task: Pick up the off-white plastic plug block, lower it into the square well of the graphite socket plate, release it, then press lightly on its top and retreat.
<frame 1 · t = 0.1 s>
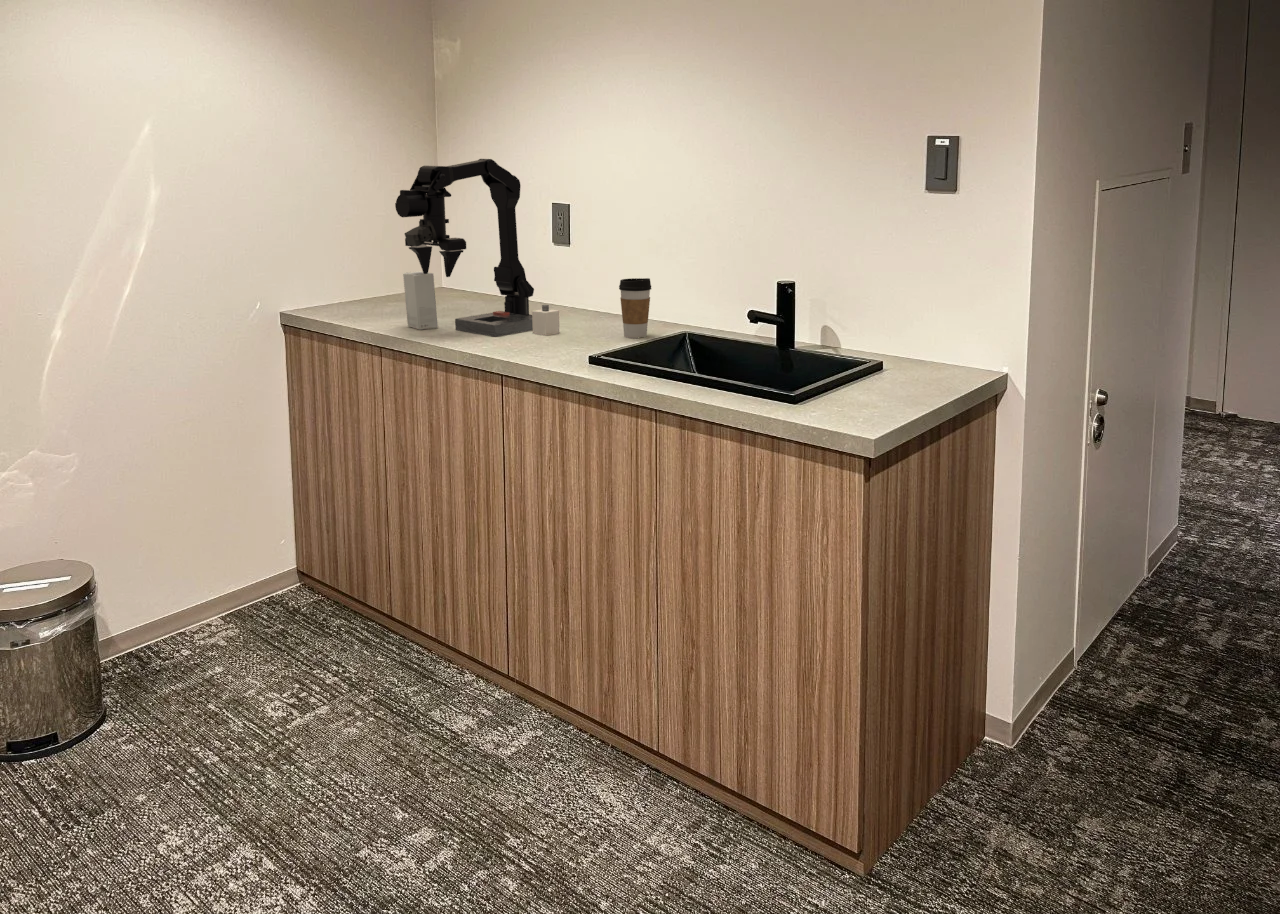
hand: (436, 275, 307), 15 cm above the worktop, fingers open, 9 cm apart
skincare box: (421, 327, 317), on the worktop, touching gripper
coffee cup: (635, 336, 303), on the worktop
socket plate: (497, 329, 313), on the worktop
plug: (546, 333, 308), on the worktop
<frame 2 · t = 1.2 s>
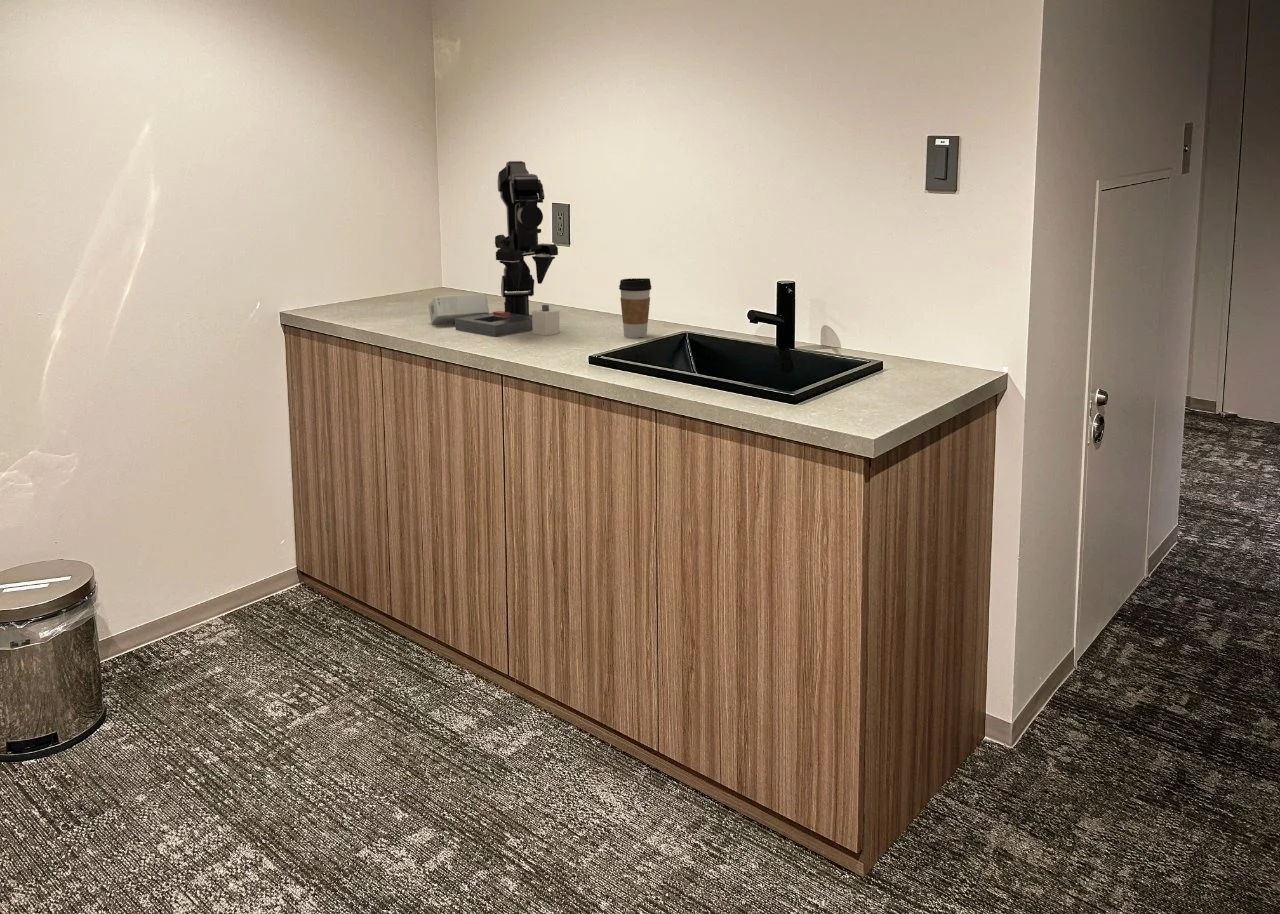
hand: (528, 285, 305), 13 cm above the worktop, fingers open, 9 cm apart
skincare box: (431, 309, 318), point 4 cm above the worktop
everything else where it was.
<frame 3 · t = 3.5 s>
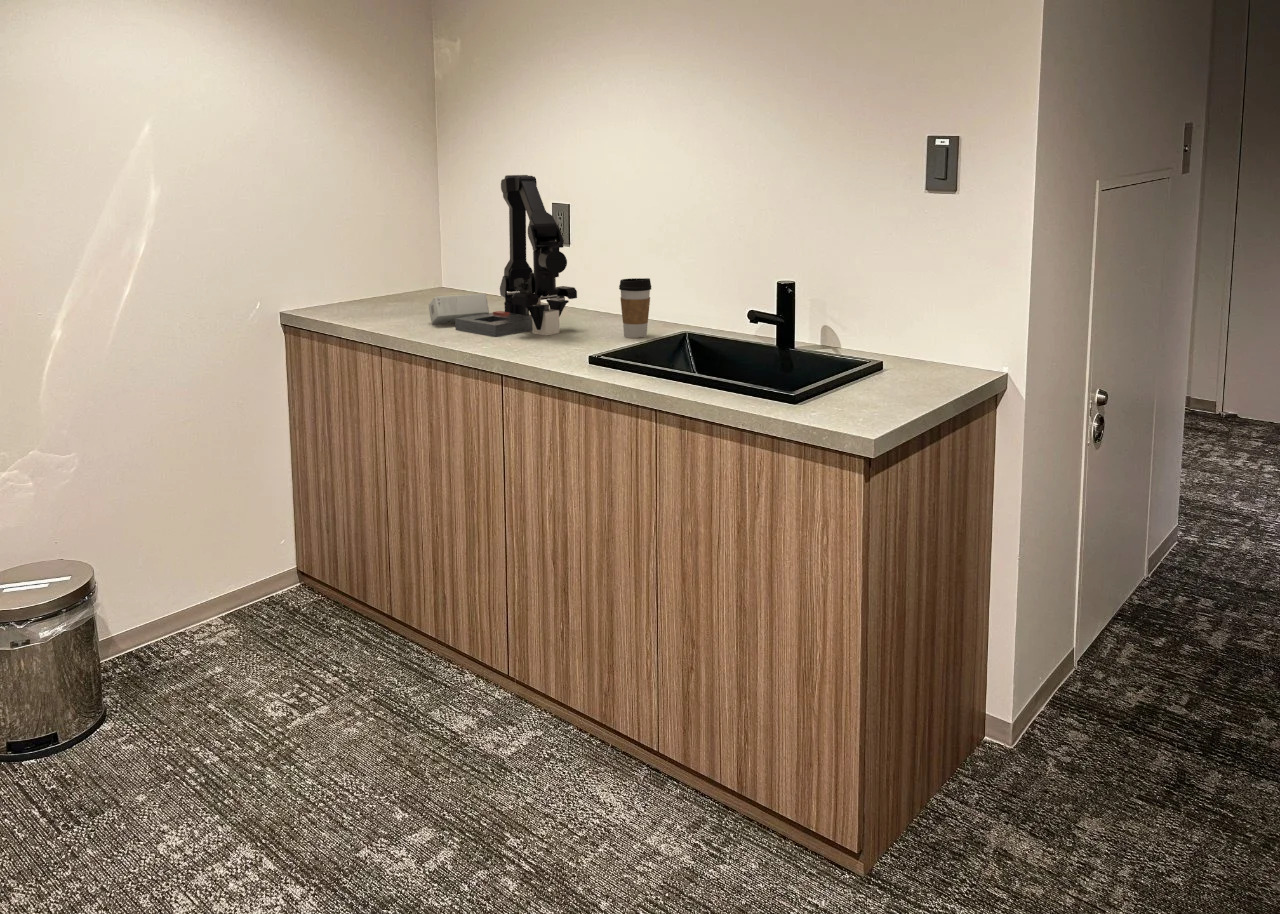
hand: (545, 328, 307), 1 cm above the worktop, fingers closed on plug, 5 cm apart
skincare box: (431, 310, 318), point 4 cm above the worktop, touching socket plate
plug: (546, 333, 308), on the worktop, touching gripper
everything else where it was.
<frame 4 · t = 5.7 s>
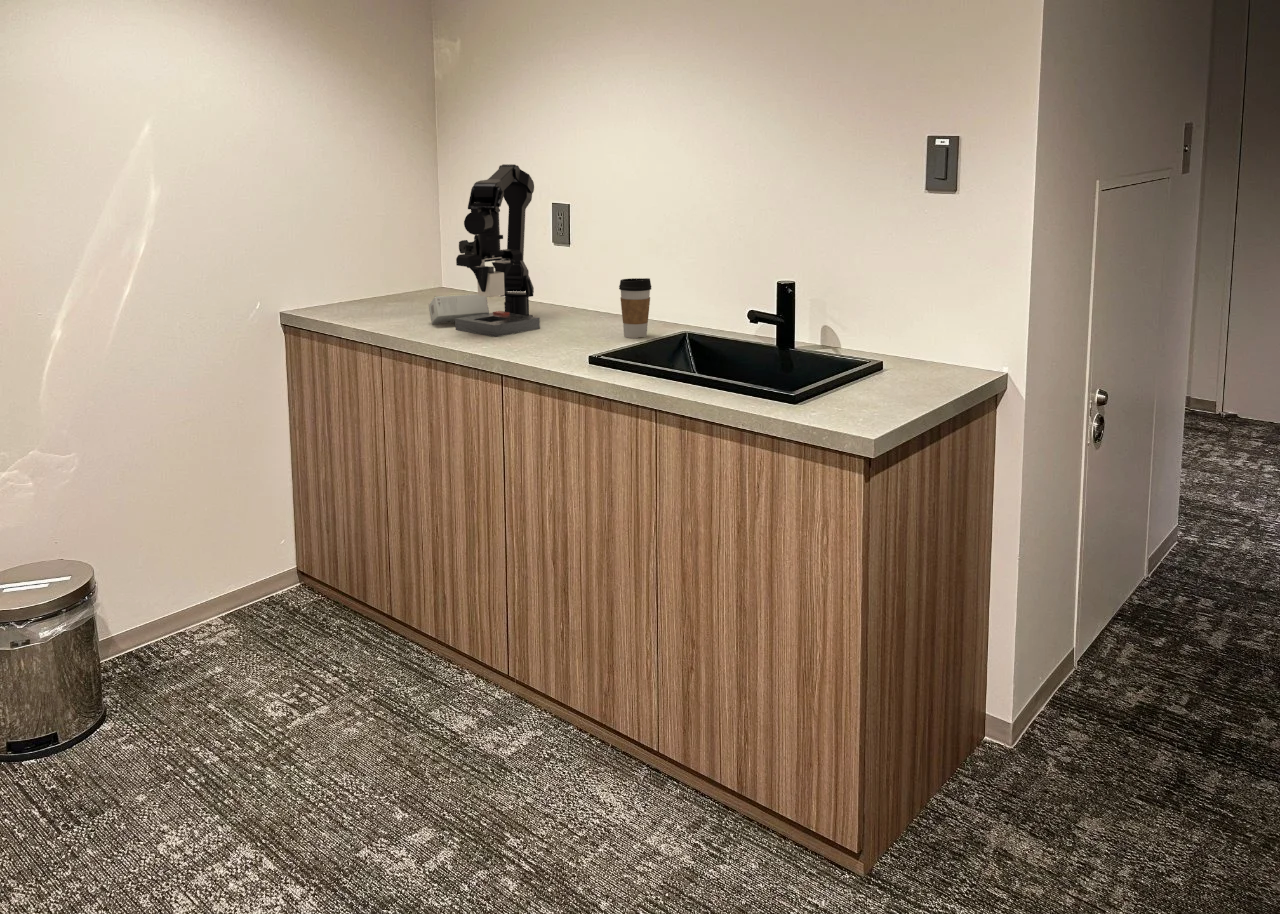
hand: (491, 290, 309), 11 cm above the worktop, fingers closed on plug, 5 cm apart
plug: (491, 295, 309), point 9 cm above the worktop, touching gripper
everything else where it was.
when the fingers open (3 cm above the worktop, at t = 7.7 s): plug drops 1 cm, resting on socket plate.
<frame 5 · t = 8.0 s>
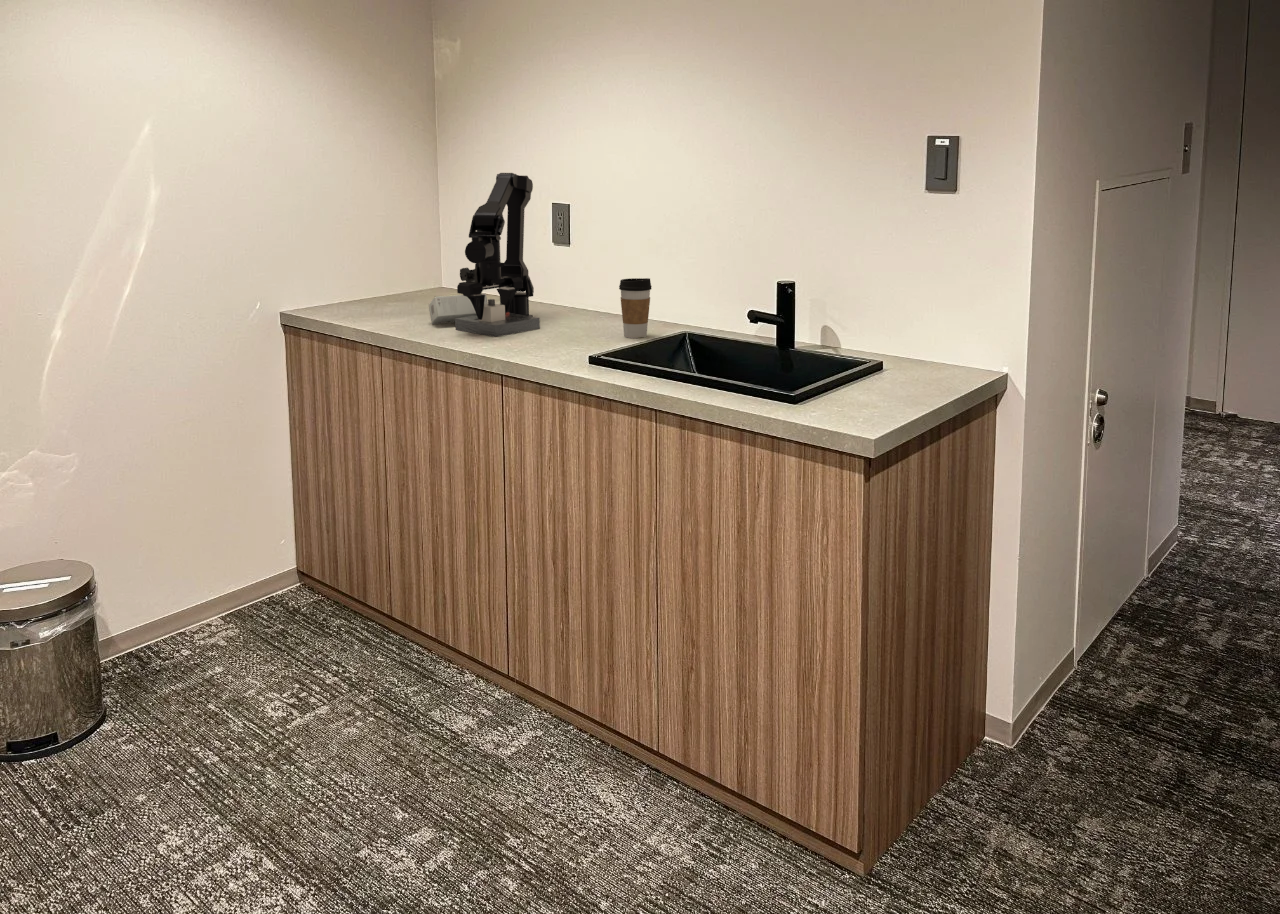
hand: (491, 317, 311), 3 cm above the worktop, fingers open, 8 cm apart
plug: (492, 327, 312), point 1 cm above the worktop, touching socket plate
everything else where it was.
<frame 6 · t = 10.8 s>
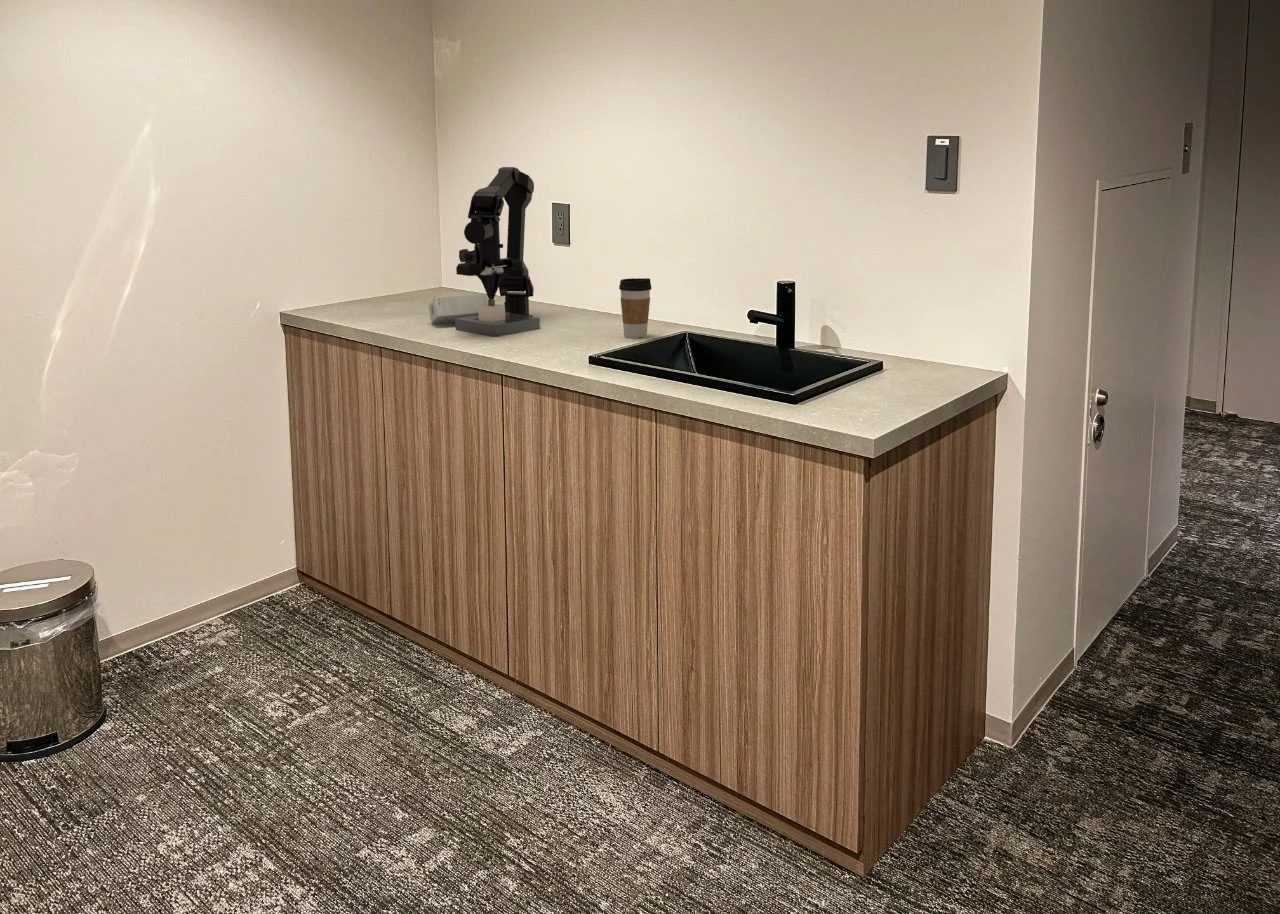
hand: (491, 299, 310), 8 cm above the worktop, fingers closed
nothing on the worktop moved.
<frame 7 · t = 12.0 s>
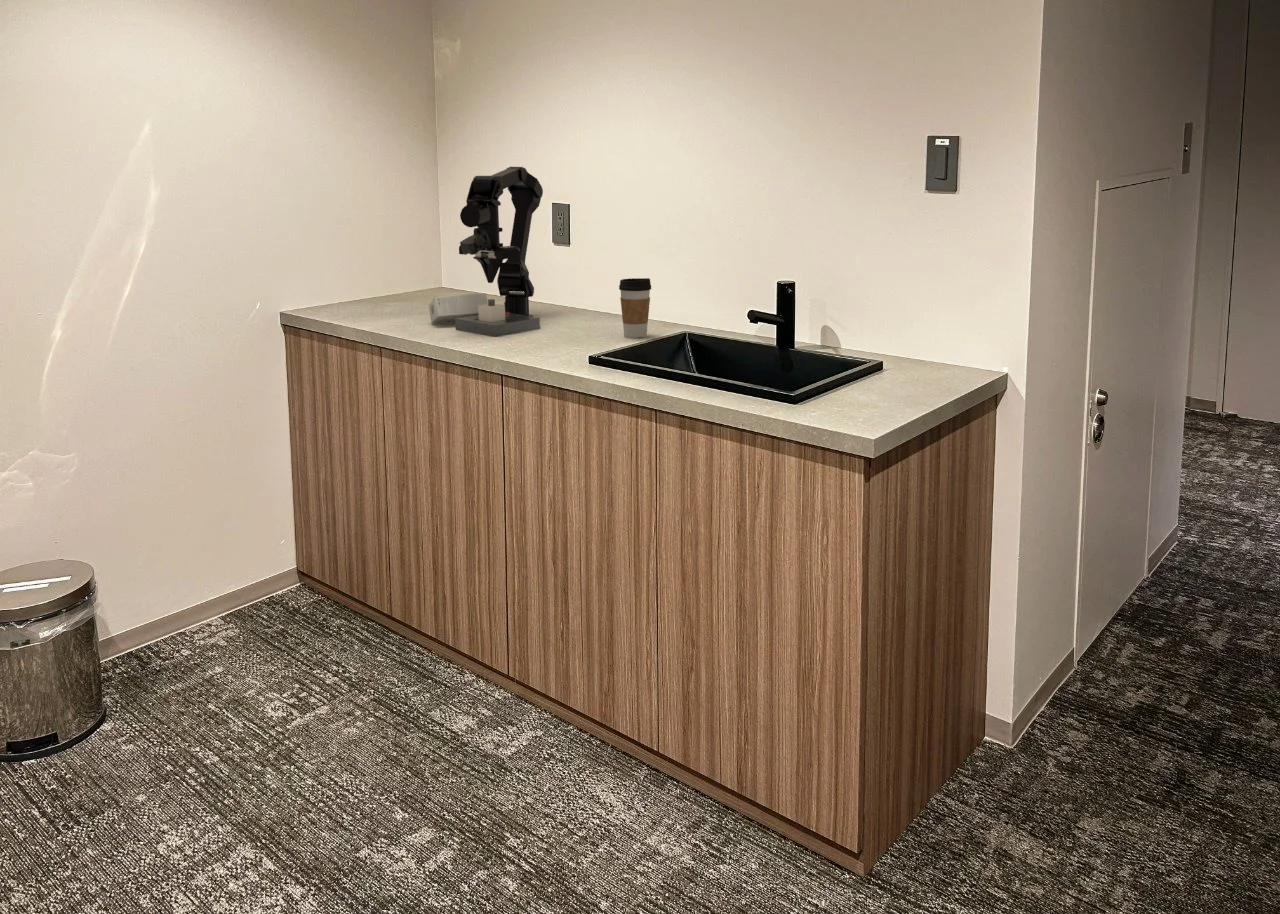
hand: (490, 282, 314), 12 cm above the worktop, fingers closed
nothing on the worktop moved.
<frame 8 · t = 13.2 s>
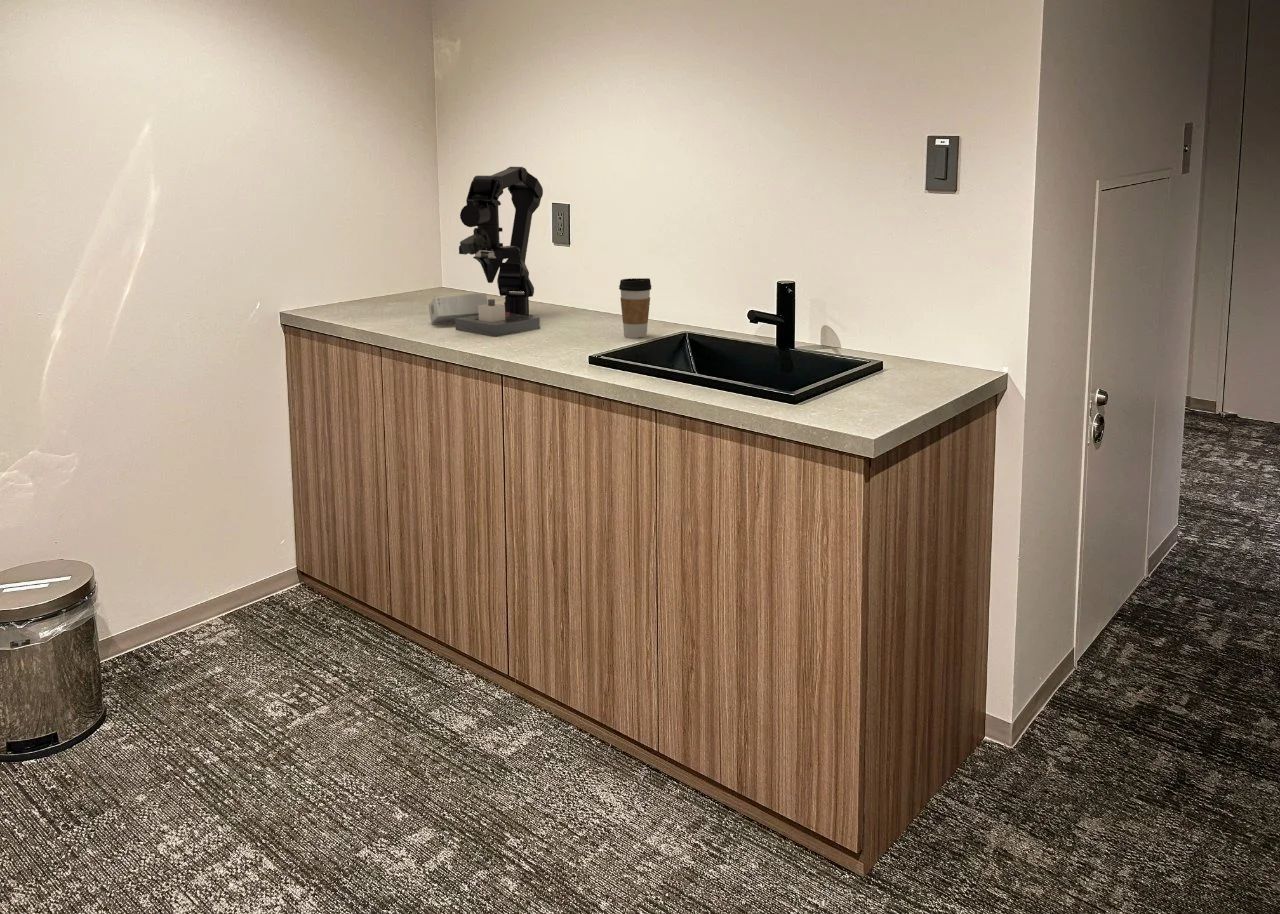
hand: (490, 282, 314), 12 cm above the worktop, fingers closed
nothing on the worktop moved.
at the end: plug 0.0 cm from the target spot on the socket plate, point 0.7 cm above the socket plate's base; plug tilted 0°; the gripper is holding nothing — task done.
